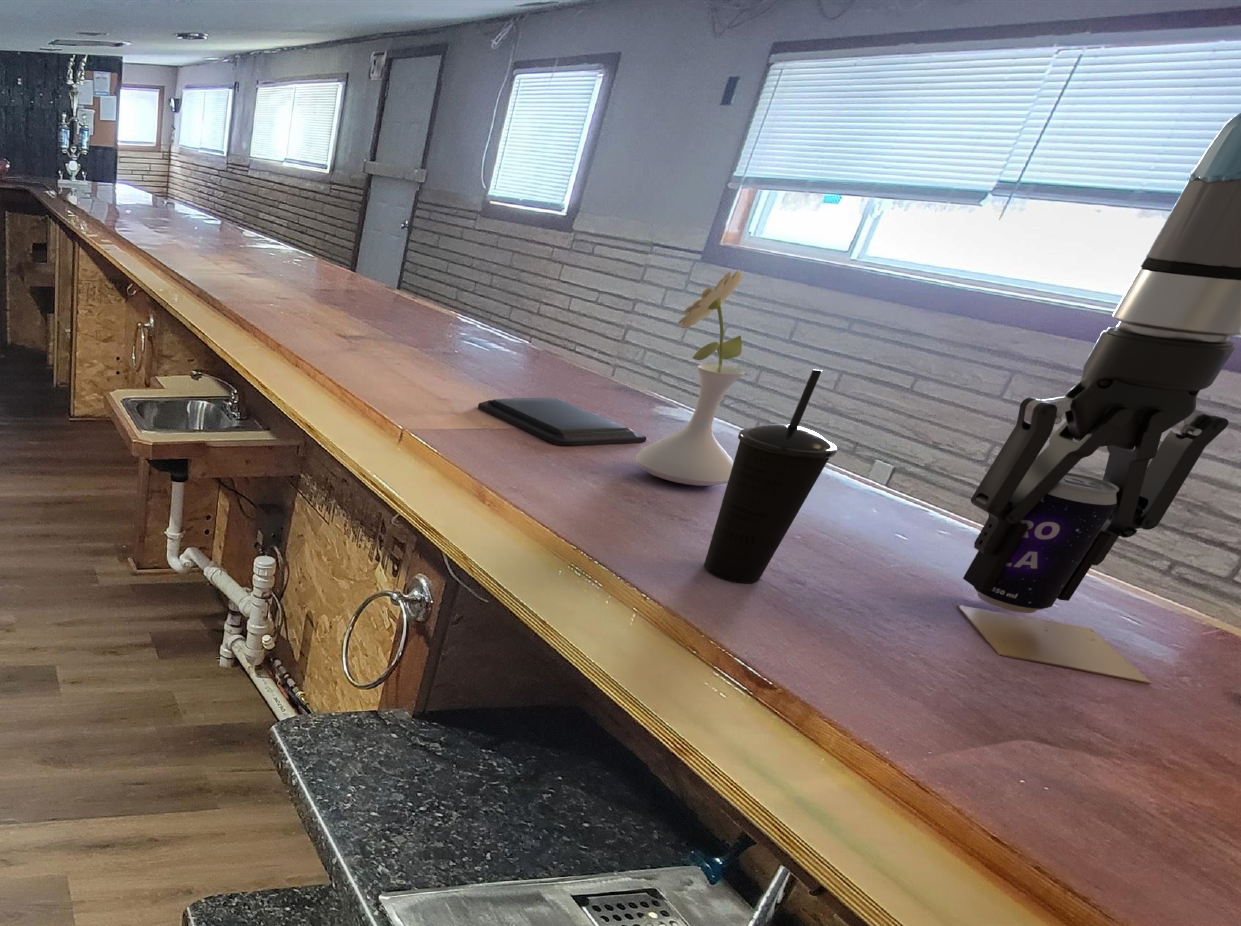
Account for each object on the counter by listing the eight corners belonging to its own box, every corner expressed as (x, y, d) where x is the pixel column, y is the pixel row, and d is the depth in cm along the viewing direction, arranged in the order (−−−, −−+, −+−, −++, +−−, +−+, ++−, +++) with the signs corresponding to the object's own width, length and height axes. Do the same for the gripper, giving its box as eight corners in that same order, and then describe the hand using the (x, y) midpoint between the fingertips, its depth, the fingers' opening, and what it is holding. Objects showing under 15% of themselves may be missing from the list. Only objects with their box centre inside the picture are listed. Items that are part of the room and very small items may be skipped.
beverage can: (971, 583, 86) (1039, 465, 81) (1049, 604, 83) (1126, 482, 77) (964, 600, 83) (1035, 478, 77) (1044, 623, 80) (1125, 497, 74)
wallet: (477, 394, 139) (562, 393, 142) (474, 406, 140) (559, 405, 143) (557, 433, 122) (652, 430, 125) (553, 446, 123) (647, 443, 126)
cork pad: (1091, 630, 81) (1092, 628, 81) (1150, 684, 73) (1151, 682, 72) (956, 606, 84) (957, 604, 84) (999, 654, 76) (1000, 653, 76)
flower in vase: (680, 461, 120) (753, 262, 107) (753, 491, 110) (843, 277, 98) (601, 466, 116) (667, 262, 104) (669, 498, 107) (751, 277, 94)
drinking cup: (693, 580, 87) (777, 373, 77) (682, 551, 93) (758, 356, 83) (784, 596, 84) (882, 385, 74) (766, 565, 90) (855, 366, 80)
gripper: (1267, 331, 73) (1100, 584, 84) (1008, 314, 75) (881, 560, 87) (1358, 350, 66) (1163, 621, 78) (1071, 331, 69) (925, 594, 81)
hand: (1014, 589), depth 82 cm, fingers closed on beverage can, 6 cm apart
